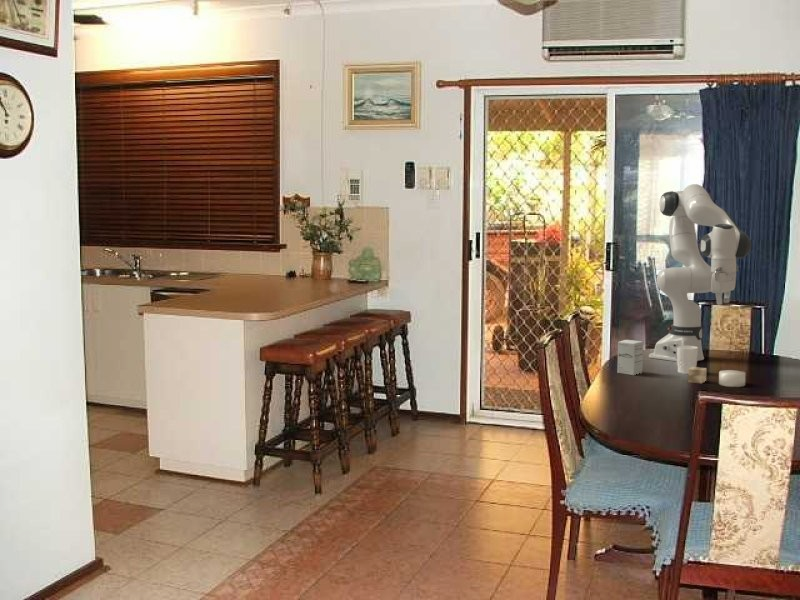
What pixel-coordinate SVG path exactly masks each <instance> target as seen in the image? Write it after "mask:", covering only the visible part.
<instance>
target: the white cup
mask: <svg viewBox="0 0 800 600" xmlns="http://www.w3.org/2000/svg"><path fill="white" fill-rule="evenodd" d="M697 354H698V347H695V346H677V361H676V365H677V373H679V374H684V375H688V374H689V369H690V368H692V367H698V366H697V363H698V361H697Z"/></svg>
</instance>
